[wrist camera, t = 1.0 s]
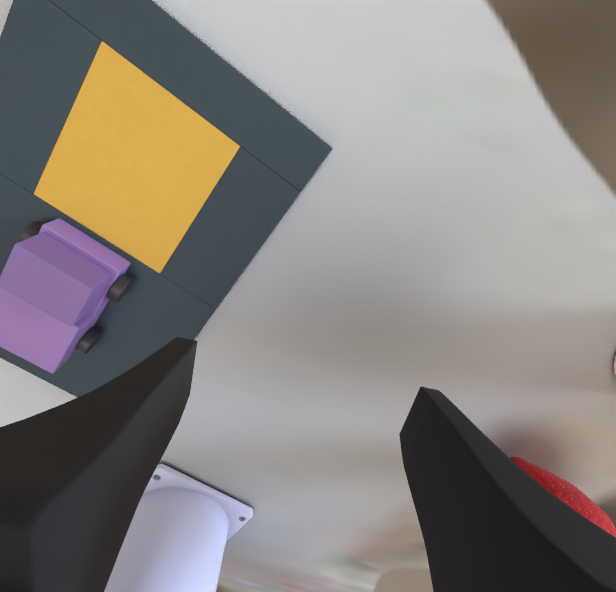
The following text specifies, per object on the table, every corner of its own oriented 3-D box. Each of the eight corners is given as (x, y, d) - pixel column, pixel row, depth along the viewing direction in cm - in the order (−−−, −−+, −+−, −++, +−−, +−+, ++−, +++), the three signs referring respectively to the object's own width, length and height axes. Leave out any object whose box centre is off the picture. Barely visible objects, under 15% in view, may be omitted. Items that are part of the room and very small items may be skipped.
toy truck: (92, 350, 23) (58, 386, 20) (4, 302, 22) (-47, 332, 18) (141, 268, 21) (112, 294, 18) (48, 209, 19) (-2, 226, 16)
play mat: (133, 420, 25) (131, 425, 25) (-90, 305, 22) (-97, 308, 22) (331, 148, 18) (332, 148, 18) (49, -83, 15) (43, -88, 15)
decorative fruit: (510, 508, 28) (604, 691, 19) (441, 459, 26) (510, 637, 17) (580, 464, 27) (721, 643, 17) (511, 407, 25) (629, 576, 16)
